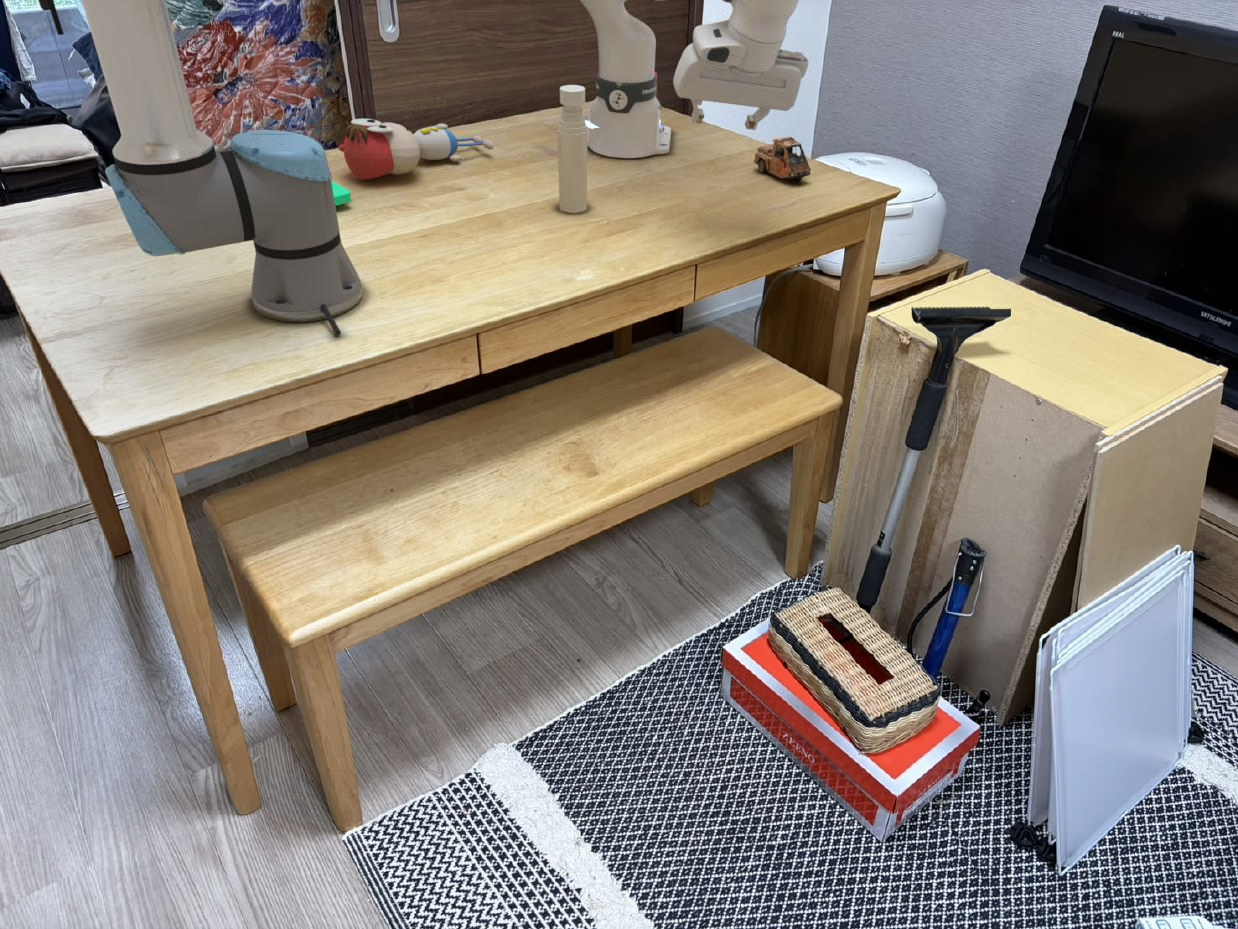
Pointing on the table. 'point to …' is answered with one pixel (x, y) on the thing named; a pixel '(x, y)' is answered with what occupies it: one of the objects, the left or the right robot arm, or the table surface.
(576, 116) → the bottle
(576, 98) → the cap
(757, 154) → the toy car
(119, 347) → the table surface
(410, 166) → the toy
